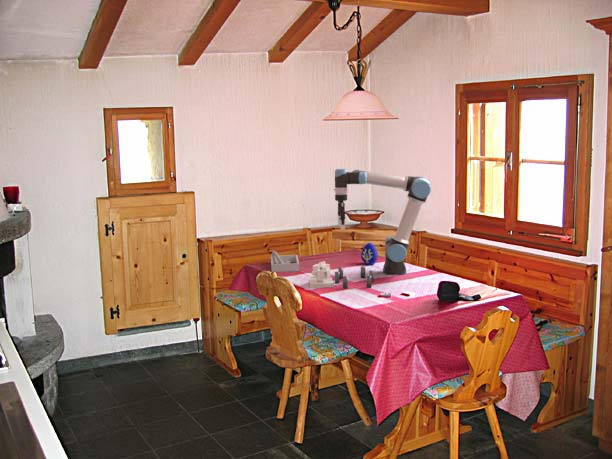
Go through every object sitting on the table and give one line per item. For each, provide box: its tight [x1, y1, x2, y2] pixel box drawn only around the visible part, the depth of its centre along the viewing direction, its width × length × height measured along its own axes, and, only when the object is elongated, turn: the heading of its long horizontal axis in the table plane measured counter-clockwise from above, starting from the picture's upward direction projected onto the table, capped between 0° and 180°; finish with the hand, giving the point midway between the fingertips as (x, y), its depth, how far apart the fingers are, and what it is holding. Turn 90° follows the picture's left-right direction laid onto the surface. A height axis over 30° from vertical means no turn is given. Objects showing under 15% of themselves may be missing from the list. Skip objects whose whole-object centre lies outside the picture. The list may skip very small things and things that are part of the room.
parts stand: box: [308, 277, 335, 289], centre depth 419 cm, size 14×14×2 cm
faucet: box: [271, 250, 292, 264], centre depth 471 cm, size 14×11×20 cm
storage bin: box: [270, 254, 300, 273], centre depth 471 cm, size 18×29×5 cm, turn 3°
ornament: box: [360, 242, 379, 266], centre depth 472 cm, size 11×9×15 cm
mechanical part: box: [311, 260, 332, 282], centre depth 418 cm, size 11×12×12 cm
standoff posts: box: [334, 265, 375, 290], centre depth 422 cm, size 24×28×7 cm
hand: (341, 228), depth 431 cm, fingers open, 13 cm apart
